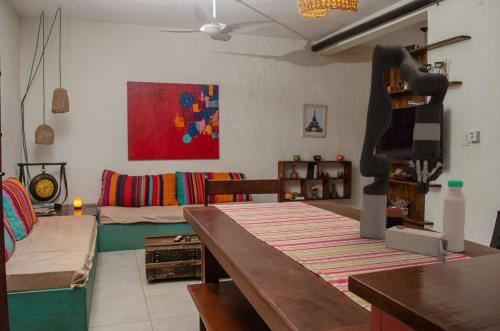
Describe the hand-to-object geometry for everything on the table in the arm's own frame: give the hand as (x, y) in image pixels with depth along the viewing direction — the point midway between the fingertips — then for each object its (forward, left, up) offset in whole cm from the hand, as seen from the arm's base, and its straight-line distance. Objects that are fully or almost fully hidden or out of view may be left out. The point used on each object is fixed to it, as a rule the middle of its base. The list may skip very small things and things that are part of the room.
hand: (423, 194), depth 126 cm
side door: (+5, +3, -22) cm, 22 cm away
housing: (-7, +15, -22) cm, 28 cm away
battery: (-27, +45, -22) cm, 57 cm away
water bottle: (+3, +24, -22) cm, 33 cm away
